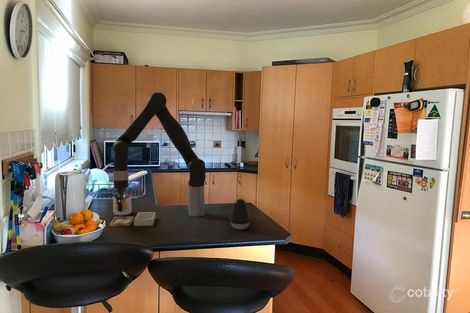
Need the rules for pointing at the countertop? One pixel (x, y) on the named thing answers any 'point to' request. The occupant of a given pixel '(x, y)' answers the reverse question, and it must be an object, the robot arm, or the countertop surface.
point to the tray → (122, 221)
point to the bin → (144, 219)
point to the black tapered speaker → (240, 215)
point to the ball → (123, 206)
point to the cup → (128, 210)
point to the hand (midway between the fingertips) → (121, 209)
